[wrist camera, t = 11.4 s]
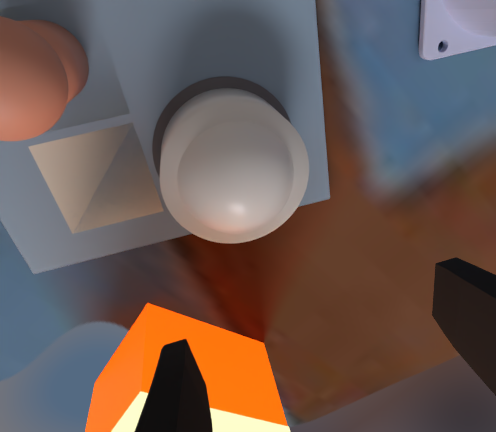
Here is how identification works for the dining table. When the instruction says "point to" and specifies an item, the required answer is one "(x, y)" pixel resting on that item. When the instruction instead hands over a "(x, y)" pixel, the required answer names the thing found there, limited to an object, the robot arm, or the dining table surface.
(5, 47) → the pawn
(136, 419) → the orange juice
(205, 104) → the dome
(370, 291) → the dining table surface
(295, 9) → the board
